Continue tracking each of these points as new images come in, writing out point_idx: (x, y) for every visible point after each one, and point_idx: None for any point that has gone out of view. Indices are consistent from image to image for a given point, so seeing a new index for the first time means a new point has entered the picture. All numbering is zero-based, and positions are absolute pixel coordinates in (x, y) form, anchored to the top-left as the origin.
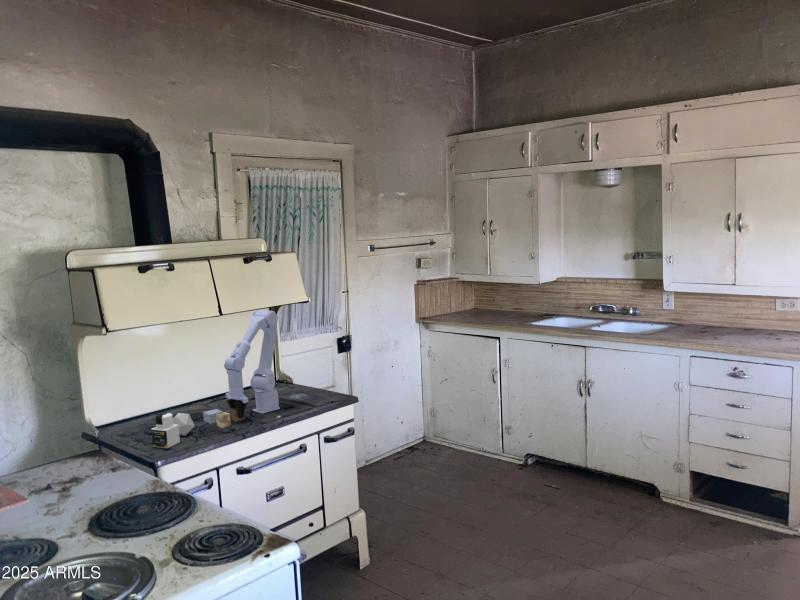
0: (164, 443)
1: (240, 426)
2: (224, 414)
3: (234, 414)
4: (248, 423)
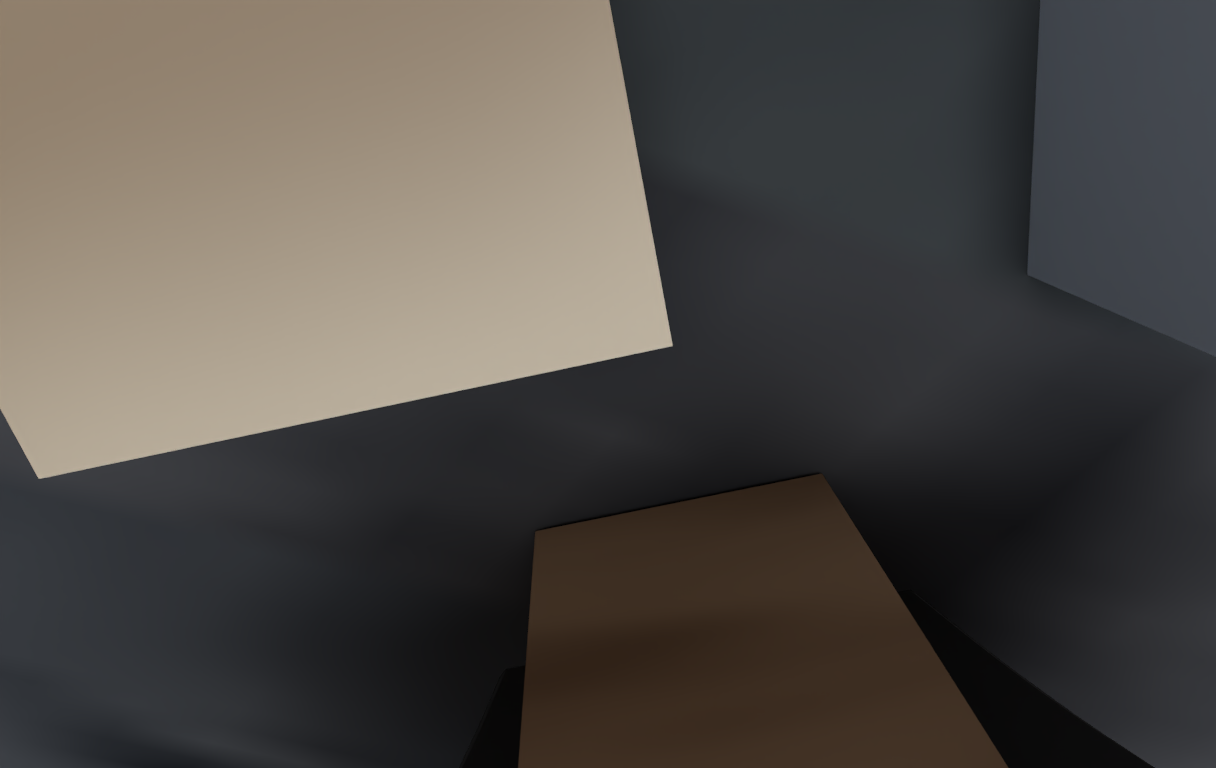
0: None
1: (25, 486)
2: (59, 133)
3: (657, 661)
4: (211, 718)
